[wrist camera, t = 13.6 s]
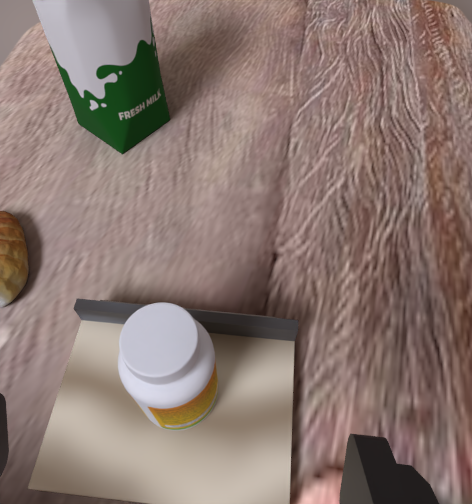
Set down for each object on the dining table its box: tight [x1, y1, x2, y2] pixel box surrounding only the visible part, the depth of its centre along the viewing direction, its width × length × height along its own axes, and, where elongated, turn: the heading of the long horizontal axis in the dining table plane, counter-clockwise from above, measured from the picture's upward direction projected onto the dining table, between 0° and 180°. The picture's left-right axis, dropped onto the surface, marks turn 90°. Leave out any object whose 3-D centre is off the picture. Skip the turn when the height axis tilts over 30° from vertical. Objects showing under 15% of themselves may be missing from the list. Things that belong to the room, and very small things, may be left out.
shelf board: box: [27, 299, 298, 504], centre depth 29 cm, size 12×16×4 cm
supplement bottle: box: [118, 302, 218, 431], centre depth 25 cm, size 5×5×10 cm
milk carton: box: [33, 0, 170, 154], centre depth 38 cm, size 9×9×20 cm
